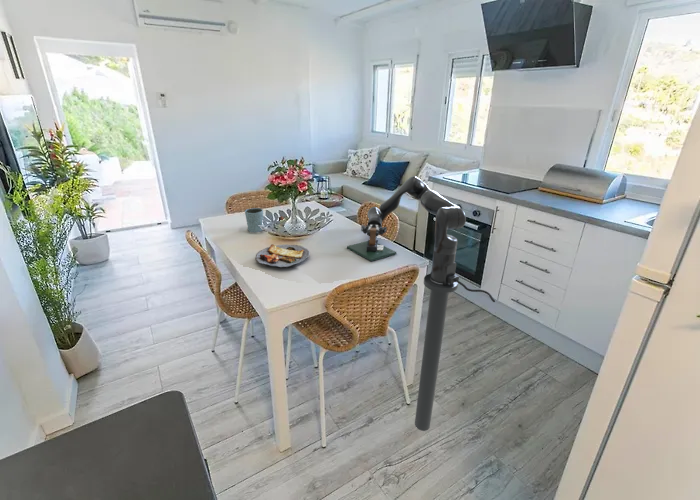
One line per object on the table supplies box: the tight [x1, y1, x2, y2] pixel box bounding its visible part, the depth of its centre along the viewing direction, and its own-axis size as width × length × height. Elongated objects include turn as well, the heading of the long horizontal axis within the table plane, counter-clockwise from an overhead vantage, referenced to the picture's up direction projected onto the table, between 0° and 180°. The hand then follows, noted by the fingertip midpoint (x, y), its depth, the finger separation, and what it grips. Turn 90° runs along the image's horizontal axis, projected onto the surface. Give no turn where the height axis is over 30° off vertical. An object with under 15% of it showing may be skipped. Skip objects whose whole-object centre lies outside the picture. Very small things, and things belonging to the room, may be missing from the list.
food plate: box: [254, 243, 311, 268], centre depth 165 cm, size 25×23×4 cm
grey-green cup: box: [244, 207, 264, 233], centre depth 200 cm, size 10×10×12 cm
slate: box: [346, 240, 397, 262], centre depth 176 cm, size 20×16×1 cm
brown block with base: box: [367, 228, 379, 252], centre depth 175 cm, size 5×10×10 cm, turn 173°
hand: (372, 234), depth 171 cm, fingers closed on brown block with base, 3 cm apart
